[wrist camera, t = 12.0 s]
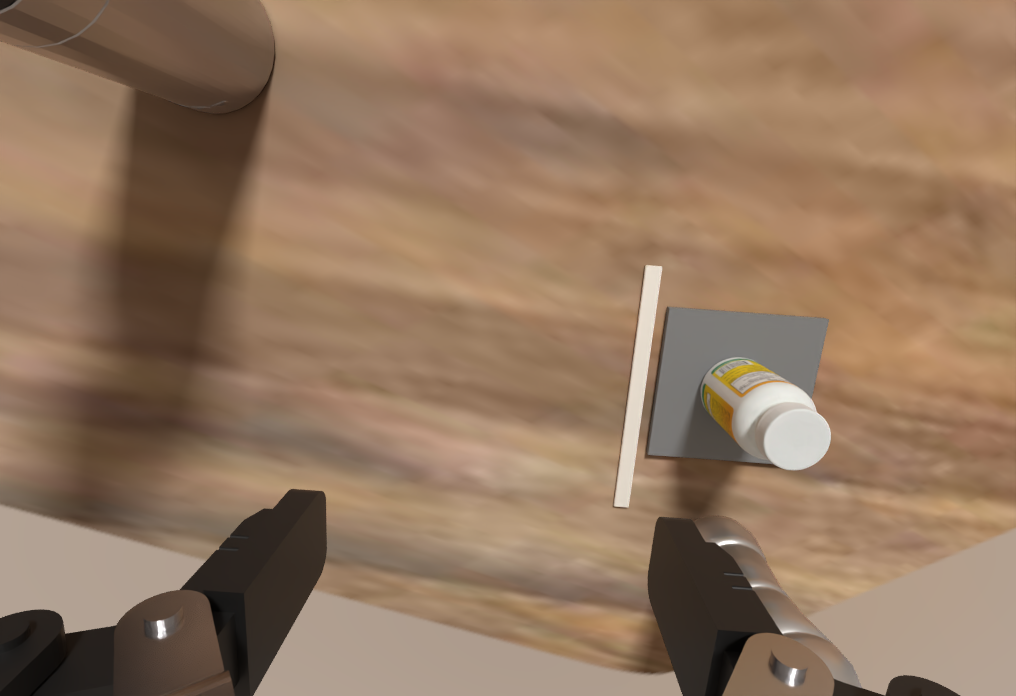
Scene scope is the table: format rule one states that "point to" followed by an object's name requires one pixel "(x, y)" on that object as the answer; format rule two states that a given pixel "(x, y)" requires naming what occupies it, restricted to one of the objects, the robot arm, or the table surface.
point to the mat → (701, 345)
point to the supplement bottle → (765, 413)
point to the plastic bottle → (774, 593)
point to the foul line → (637, 383)
